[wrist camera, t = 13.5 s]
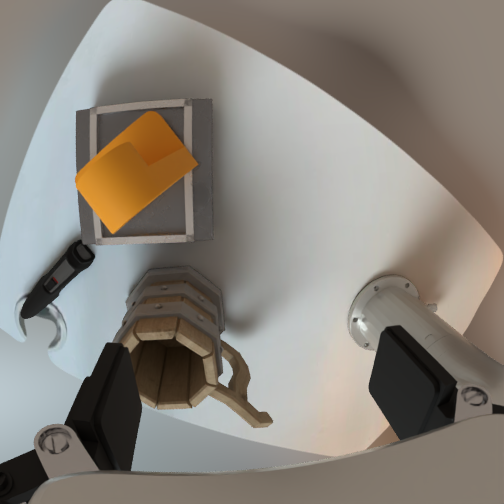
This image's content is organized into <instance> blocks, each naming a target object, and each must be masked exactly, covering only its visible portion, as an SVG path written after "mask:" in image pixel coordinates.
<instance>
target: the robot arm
mask: <svg viewBox="0 0 504 504" xmlns="http://www.w3.org/2000/svg"><path fill="white" fill-rule="evenodd" d="M436 311H437V305H436V304H435V303H433V304H428V305H426V304H425V303H424V302H422V301H421V300H420V298H419V294H418V291H417V289H416V287H415V286H414V285H413V284H412V283H411V282H410V281H409V280H407V279H406V278H404V277H401V276H397V275H389V276H384V277H381V278H379V279H377V280H374V281H373V282H371V283H370V284H369V285H367V286H366V287H365V288H364V289H363V290H362V291H361V292H360V293H359V295H358V296H357V297H356V299H355V301H354V302H353V304H352V306H351V309H350V312H349V317H348V328H349V333H350V335H351V337H352V338H353V340H354V341H355V343H357V344H358V345H359V346H360V347H362V348H363V349H367V350H374V351H376V357H375V361H374V365H373V370H372V374H371V378H370V382H369V392H370V394H371V395H372V397H373V398H374V400H375V402H376V403H377V405H378V406H379V408H380V409H381V411H382V413H383V414H384V416H385V417H386V419H387V420H388V422H389V424H390V425H391V427H392V428H393V430H394V431H395V433H396V435H397V436H398V438H399V439H400V441H397V442H393V443H390V444H387V445H383V446H379V447H375V448H372V449H368V450H364V451H360V452H355V453H351V454H347V455H342V456H338V457H333V458H328V459H322V460H317V461H311V462H305V463H300V464H293V465H286V466H278V467H270V468H261V469H250V470H237V471H220V472H144V471H131V466H132V460H133V455H134V449H135V444H136V438H137V433H138V428H139V423H140V418H141V413H142V403H141V399H140V395H139V391H138V387H137V383H136V379H135V375H134V371H133V366H132V362H131V357H130V352H129V349H128V347H124V345H123V344H122V343H106V344H105V347H104V349H103V351H102V353H101V355H100V357H99V359H98V361H97V363H96V366H95V368H94V370H93V372H92V374H91V376H90V377H86V378H85V379H84V381H83V383H82V385H81V388H80V390H79V392H78V394H77V396H76V398H75V401H74V403H73V405H72V407H71V410H70V412H69V414H68V417H67V419H66V421H65V424H64V425H62V424H52V425H48V426H46V427H44V428H42V429H41V430H40V431H39V432H38V433H37V435H36V436H35V438H34V447H35V449H34V450H32V451H29V452H27V453H25V454H22V455H20V456H18V457H15V458H13V459H11V460H8V461H6V462H4V463H1V464H0V504H504V365H502V364H500V363H499V362H497V361H496V360H494V359H493V358H491V357H489V356H488V355H487V354H486V353H484V352H483V351H482V350H480V349H479V348H478V347H476V346H475V345H474V344H473V343H471V342H470V341H469V340H467V339H466V338H465V337H464V336H462V335H461V334H460V333H459V332H457V331H456V330H455V329H454V328H453V327H451V326H450V325H449V324H448V323H446V322H445V321H444V320H443V319H441V318H440V317H439V316H438V315H436V314H435V313H434V312H436Z"/></svg>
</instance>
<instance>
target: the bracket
mask: <svg viewBox="0 0 504 504" xmlns="http://www.w3.org/2000/svg"><path fill="white" fill-rule="evenodd" d="M197 165H199V164H198V163H197V162H196V160H195V159H194V158H193V156H192V155H191V154H190V152H189V151H188V150H187V149H186V147H185V146H184V145H183V143H182V142H181V141H180V139H179V138H178V137H177V136H176V134H175V133H174V132H173V130H172V129H171V128H170V127H169V125H168V124H167V123H166V121H165V120H164V119H163V117H162V116H161V115H159V114H158V113H157V112H155V111H148V112H146V113H145V114H143V115H142V116H141V117H140V118H138V119H137V120H136V121H135V122H133V123H132V124H131V125H130V126H129V127H127V128H126V129H125V130H124V131H123V132H122V133H120V134H119V135H118V136H117V137H116V138H115V139H114V140H112V141H111V142H110V143H109V144H108V145H107V146H106V147H105V148H103V149H102V150H101V151H100V152H99V153H98V154H97V155H96V156H95V157H94V158H93V159H92V160H90V161H89V162H88V163H87V164H86V165H85V166H84V167H83V168H82V169H81V170H80V171H79V172H78V173H77V175H76V178H75V183H76V188H77V189H78V190H79V192H80V193H81V194H82V196H83V197H84V198H85V200H86V201H87V202H88V204H89V205H90V206H91V208H92V209H93V210H94V212H95V213H96V214H97V215H98V217H99V218H100V219H101V221H102V222H103V223H104V224H105V226H106V227H107V228H108V229H109V231H110V232H111V233H112V234H114V233H116V232H117V231H118V230H119V229H120V228H121V227H123V226H124V225H125V224H126V223H127V222H128V221H129V220H131V219H132V218H133V217H134V216H135V215H136V214H138V213H139V212H140V211H141V210H142V209H144V208H145V207H146V206H147V205H148V204H150V203H151V202H152V201H153V200H154V199H156V198H157V197H158V196H159V195H161V194H162V193H163V192H164V191H166V190H167V189H168V188H169V187H170V186H172V185H173V184H174V183H176V182H177V181H178V180H179V179H181V178H182V177H183V176H184V175H186V174H187V173H188V172H190V171H191V170H192V169H193V168H195V167H196V166H197Z"/></svg>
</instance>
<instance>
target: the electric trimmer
mask: <svg viewBox="0 0 504 504" xmlns="http://www.w3.org/2000/svg"><path fill="white" fill-rule="evenodd" d="M94 258H95V255H94V254H93V252H92V251H91V250H90V249H89V248H88V246H87V245H86V244H84V245H83V243H82V240H78V241H77V242H74V243H73V244H72V245H71V246H70V247H69V248H68V250H67V251H66V253H65V254H64V255H63V256H62V257H61V258H60V260H59V261H58V262H57V263H56V264H55V266H54V267H53V268H52V269H51V270H50V271H49V273H48V274H46V275H45V276H43V277H42V278H41V279H40V281H39V282H38V283H37V285H36V286H35V288H34V289H33V290H32V292H31V293H30V295H29V296H28V298H27V299H26V301H25V302H24V304H23V307H22V310H21V317H22V318H24V319H28V318H31V317H33V316H35V315H36V314H38V313H39V312H40V311H41V310H42V309H44V308H45V307H46V306H47V305H48V304H50V303H51V302H52V301H53V300H55V299H56V298H57V297H58V296H59V293H60V291H61V290H62V289H63V288H64V287H65V286H66V285H67V284H68V283H69V282H70V281H71V280H72V279H73V278H75V277H76V276H77V275H78V274H79V273H80V272H81V271H83V270H85V269H86V268H88V267H89V266H90V265H91V264H92V262H93V260H94Z"/></svg>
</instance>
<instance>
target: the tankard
mask: <svg viewBox="0 0 504 504" xmlns="http://www.w3.org/2000/svg"><path fill="white" fill-rule="evenodd" d="M126 306H127V310H128V311H127V313H126V314H125V316H124V318H123V321H122V327H121V328H120V329H119V331H118V332H117V333H116V335H115V338H114V340H113V342H112V343H122V344H123V345H124V347H128V349H129V352H130V357H131V362H132V366H133V371H134V375H135V379H136V383H137V387H138V391H139V395H140V399H141V401H142V402H144V403H145V404H147V405H149V406H150V407H152V408H154V409H155V407H156V406H157V409H158V410H159V409H186V408H192V405H193V407H196V406H197V405H198V404H199V403H200V402H201V401H202V400H204V399H205V398H206V397H207V396H208V395H209V396H211V397H213V398H215V399H217V400H219V401H221V402H222V403H224V404H226V405H227V406H228V407H230V408H231V409H232V410H233V411H234V412H236V413H237V414H238V415H239V416H240V417H242V418H243V419H244V420H245V421H246V422H247V423H248V424H250V425H251V426H252V427H253V428H263V427H268V426H269V425H270V424H272V423H273V420H272V418H271V417H270V416H269V414H268V413H267V412H258V411H257V410H256V409H255V408H254V407H253V406H252V405H251V404H250V403H249V402H248V401H247V387H248V384H249V381H250V379H251V377H250V373H249V368H248V366H247V364H246V363H245V361H244V359H243V358H242V356H241V354H240V353H239V352H238V351H236V350H235V349H234V348H232V347H231V346H230V345H228V344H227V343H226V342H224V341H222V340H221V339H220V334H221V333H222V332H223V331H224V330H225V325H224V315H223V306H222V296H221V290H220V289H219V288H217V287H216V286H215V285H213V284H212V283H211V282H209V281H208V280H207V279H206V278H204V277H203V276H202V275H200V274H199V273H198V272H196V271H195V270H194V269H193V268H191V267H190V266H183V267H172V268H160V269H149V271H148V272H147V273H146V274H145V276H144V277H143V278H142V280H141V281H140V282H139V284H138V285H137V286H136V287H135V289H134V290H133V291H132V293H131V294H130V295H129V297H128V298H127V300H126ZM222 357H224V358H225V359H226V360H227V361H228V362H229V363H230V365H231V367H232V369H233V376H232V378H231V380H230V382H229V384H228V388H227V387H226V386H224V385H222V384H221V383H219V382H218V377H219V376H220V375H221V374H222V373H223V365H222Z"/></svg>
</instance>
